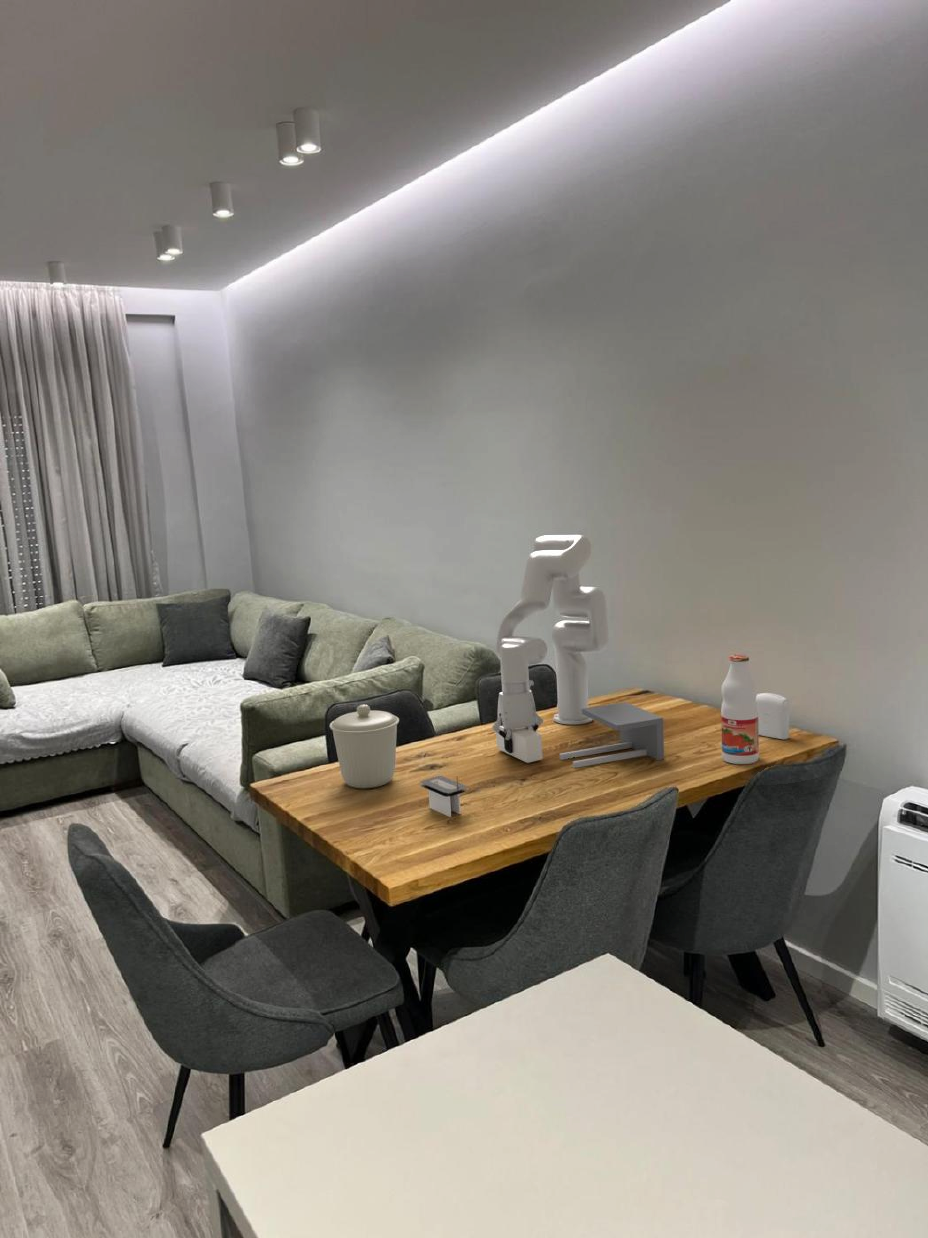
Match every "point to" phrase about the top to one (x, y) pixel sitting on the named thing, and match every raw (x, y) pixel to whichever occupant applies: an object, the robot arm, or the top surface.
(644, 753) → the overhang shelf
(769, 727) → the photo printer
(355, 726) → the canister
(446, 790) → the architectural model
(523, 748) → the cream rectangular prism
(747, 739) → the fruit juice
